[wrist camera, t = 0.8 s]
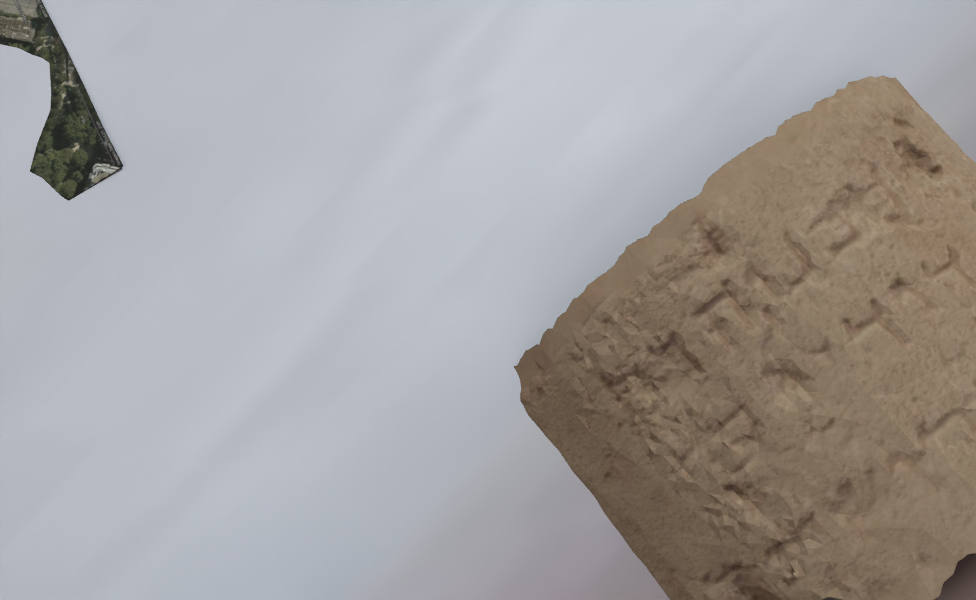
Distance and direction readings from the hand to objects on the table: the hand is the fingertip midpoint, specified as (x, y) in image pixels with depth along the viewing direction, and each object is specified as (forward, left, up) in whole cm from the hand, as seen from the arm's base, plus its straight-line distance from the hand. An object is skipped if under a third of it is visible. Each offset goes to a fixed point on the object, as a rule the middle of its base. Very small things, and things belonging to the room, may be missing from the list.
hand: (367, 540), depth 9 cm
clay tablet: (+6, -7, -14) cm, 17 cm away
